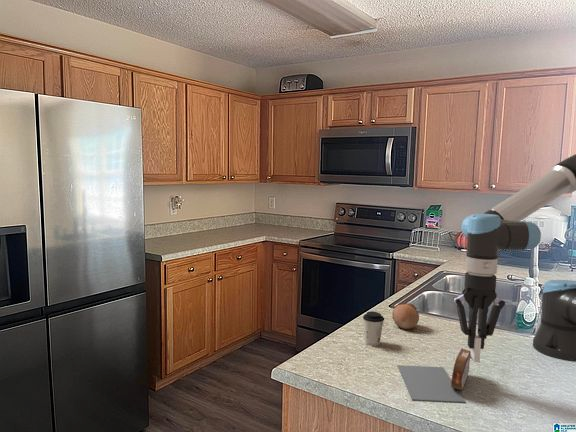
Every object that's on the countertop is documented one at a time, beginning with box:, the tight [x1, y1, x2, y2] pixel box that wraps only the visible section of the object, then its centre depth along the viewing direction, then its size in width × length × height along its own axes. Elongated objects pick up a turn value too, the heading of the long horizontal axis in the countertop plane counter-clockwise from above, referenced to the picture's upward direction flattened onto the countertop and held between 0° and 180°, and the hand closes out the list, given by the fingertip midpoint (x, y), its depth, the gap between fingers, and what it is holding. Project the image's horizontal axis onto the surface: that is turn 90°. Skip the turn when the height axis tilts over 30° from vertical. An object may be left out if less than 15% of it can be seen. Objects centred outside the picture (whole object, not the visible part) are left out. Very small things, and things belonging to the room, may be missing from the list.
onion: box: [391, 302, 420, 330], centre depth 157 cm, size 10×9×10 cm
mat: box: [397, 364, 466, 404], centre depth 116 cm, size 13×19×1 cm
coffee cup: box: [362, 310, 385, 347], centre depth 142 cm, size 7×7×10 cm
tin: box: [451, 347, 471, 391], centre depth 115 cm, size 15×3×8 cm, turn 149°
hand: (474, 359), depth 115 cm, fingers closed
